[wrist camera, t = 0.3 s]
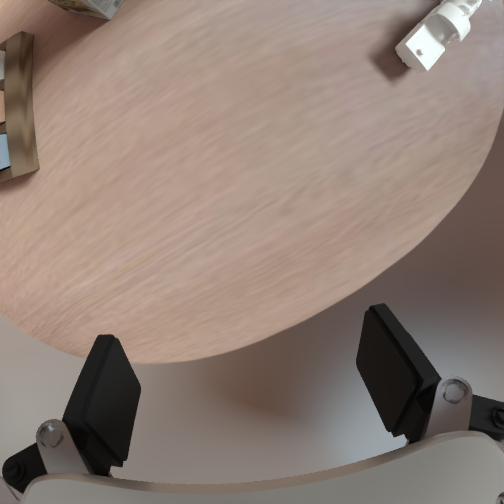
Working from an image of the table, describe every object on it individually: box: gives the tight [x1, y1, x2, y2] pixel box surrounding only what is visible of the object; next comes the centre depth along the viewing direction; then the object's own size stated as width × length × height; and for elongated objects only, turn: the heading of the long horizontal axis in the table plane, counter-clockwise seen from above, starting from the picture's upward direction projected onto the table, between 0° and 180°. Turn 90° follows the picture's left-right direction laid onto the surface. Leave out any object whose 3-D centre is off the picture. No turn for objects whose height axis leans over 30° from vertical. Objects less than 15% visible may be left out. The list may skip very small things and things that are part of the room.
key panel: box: [0, 31, 40, 183], centre depth 27 cm, size 23×12×4 cm, turn 4°
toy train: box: [395, 0, 491, 72], centre depth 23 cm, size 6×30×10 cm, turn 141°
